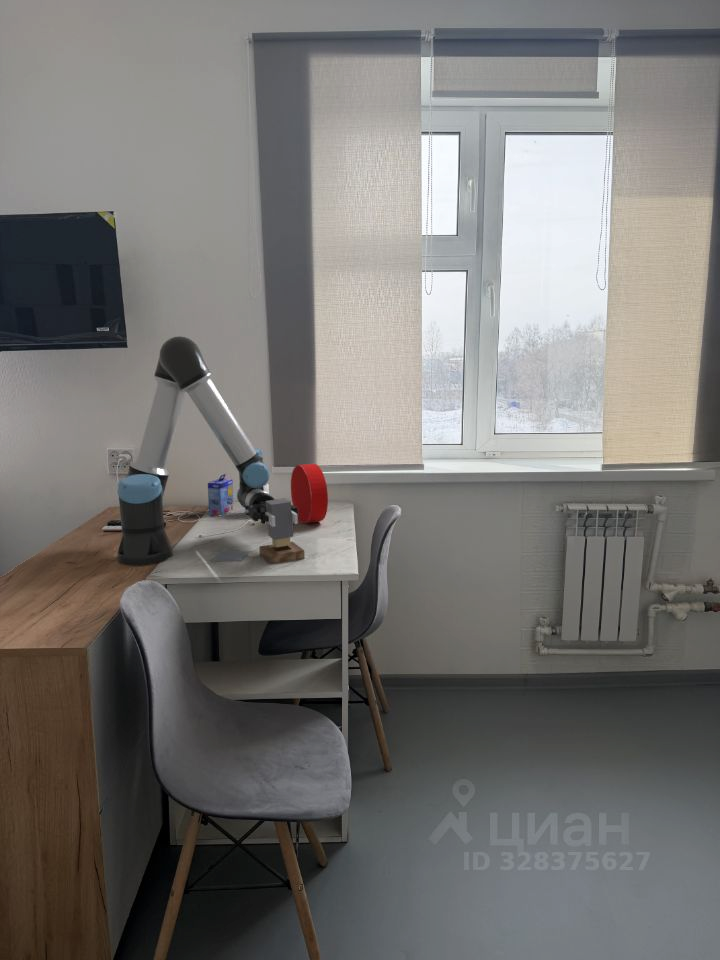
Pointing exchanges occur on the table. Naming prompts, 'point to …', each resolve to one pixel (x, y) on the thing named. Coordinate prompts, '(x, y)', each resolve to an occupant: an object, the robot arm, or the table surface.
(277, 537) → the plug
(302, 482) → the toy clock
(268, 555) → the socket block
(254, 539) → the table surface
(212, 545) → the table surface
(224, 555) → the mat
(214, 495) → the ink cartridge box
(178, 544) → the table surface
